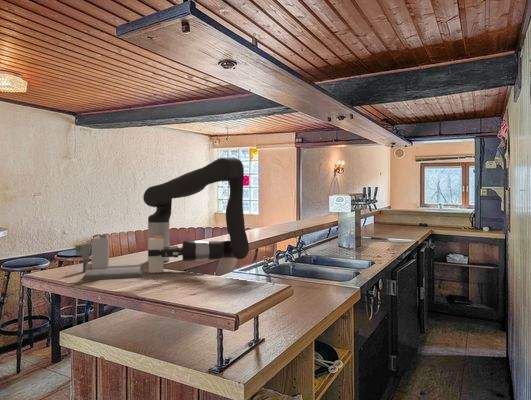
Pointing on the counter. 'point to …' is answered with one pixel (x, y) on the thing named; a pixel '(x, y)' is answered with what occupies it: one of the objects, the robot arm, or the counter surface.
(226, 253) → the robot arm
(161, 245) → the cream module
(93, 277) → the grey l-shaped block
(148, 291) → the counter surface
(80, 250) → the mechanical component
